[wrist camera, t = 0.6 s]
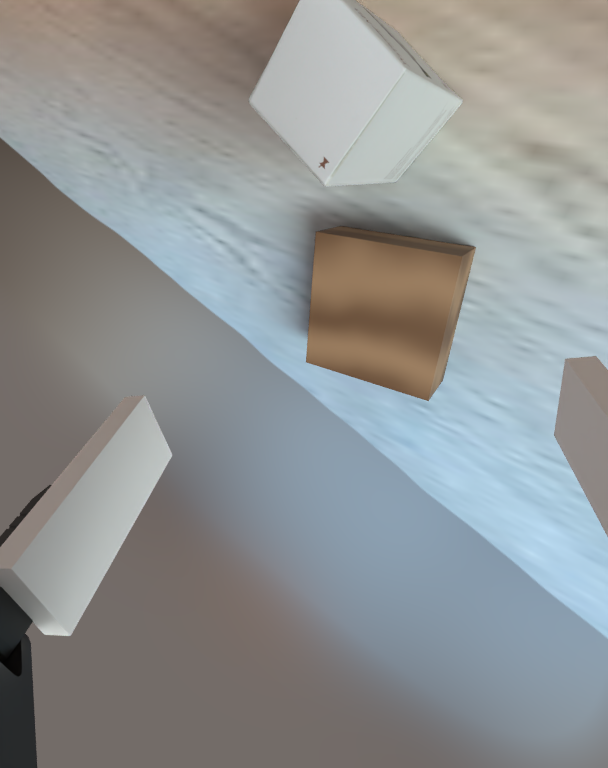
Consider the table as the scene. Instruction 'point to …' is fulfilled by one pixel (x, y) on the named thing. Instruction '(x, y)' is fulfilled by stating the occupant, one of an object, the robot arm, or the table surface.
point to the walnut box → (386, 307)
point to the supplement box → (350, 94)
